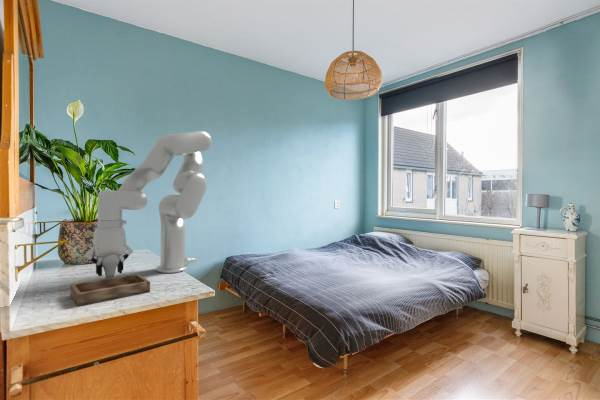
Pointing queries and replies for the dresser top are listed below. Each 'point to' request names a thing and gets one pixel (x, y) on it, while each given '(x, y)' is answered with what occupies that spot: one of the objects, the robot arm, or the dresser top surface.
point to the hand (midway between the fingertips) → (109, 273)
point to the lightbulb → (110, 265)
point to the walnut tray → (108, 289)
